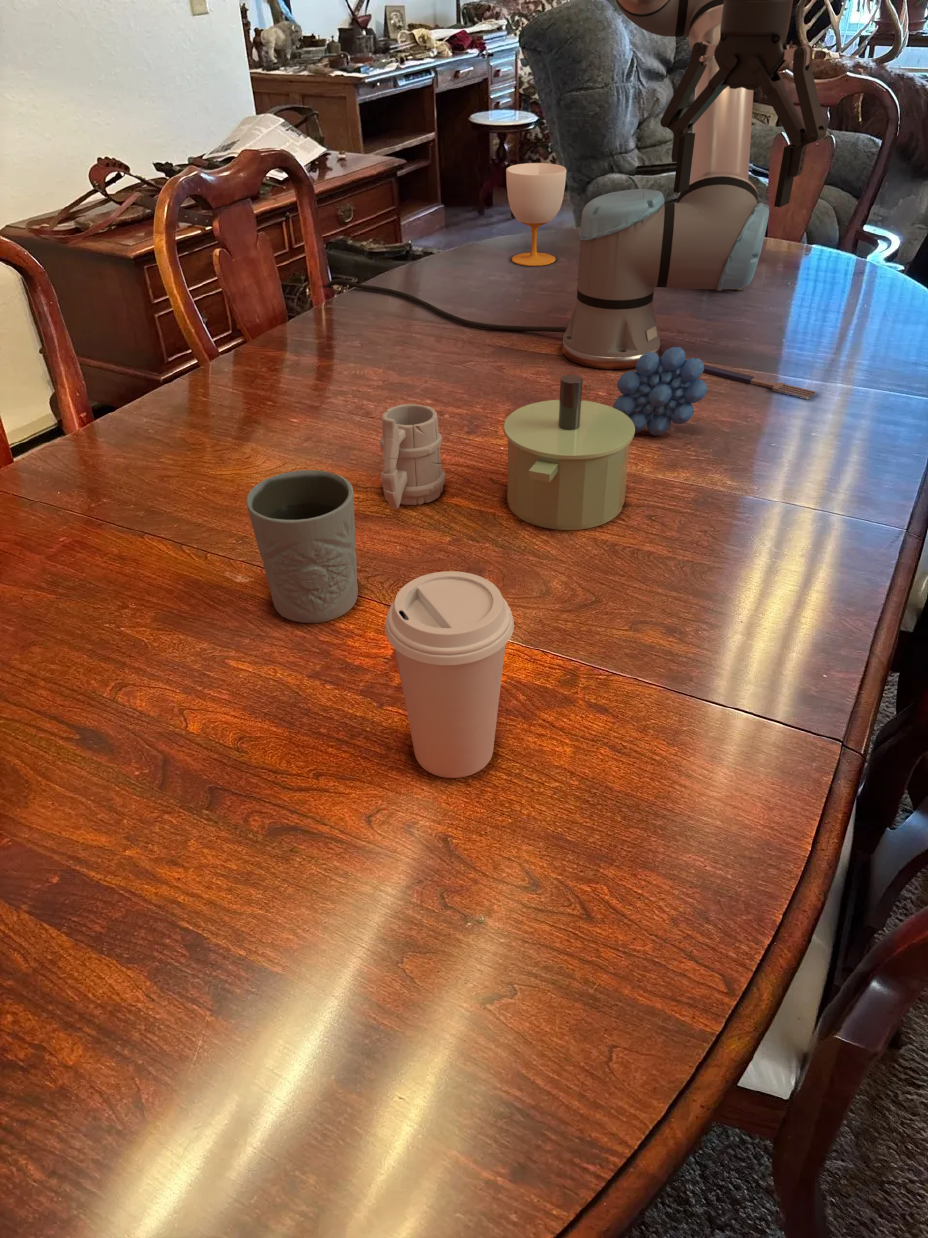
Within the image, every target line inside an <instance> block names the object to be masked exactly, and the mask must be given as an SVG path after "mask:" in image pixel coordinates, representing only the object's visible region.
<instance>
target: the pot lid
mask: <svg viewBox="0 0 928 1238" xmlns="http://www.w3.org/2000/svg"><path fill="white" fill-rule="evenodd" d="M559 381H560V383H559V399H549V400H543V401H538V402H533V403H530V404H527V405H524V406H521V407H519V408H517V409H516V410H513V411H512V412H511V413H510V414H509V415H508V416H507V417H506V418H505V420H504V423H503V433H504V436H505V438H506V439H507V441H508V440H509V441H510V442H511V443H512V444H513V445H515V446H516V447H518V448H520V449H522V450H524V451H526V452H529V453H532V454H535V455H538V456H543V457H548V458H555V459H572V460H575V459H590V458H596V457H602V456H606V455H609V454H612V453H615V452H617V451H619V450H621V449H623V448H625V447H626V446H627V445H628V444H630V445H631V442H632V441H633V440H634V438H635V434H636V433H635V426H634V423H633V421H632V420H631V419H630V418H629V417H628V416H627V415H626V414H624V413H623V412H621V411H619V410H617V409H615V408H613V406H610V405H607V404H605V403H604V404H603V403H599V402H595V401H590V400H582V396H583V383H584V382H583V381H584V379H583V377H582V376H580V375H576V374H566V375H565V374H564V375H562V376H561V377H560V379H559Z"/></svg>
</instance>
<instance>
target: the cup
mask: <svg viewBox="0 0 928 1238" xmlns="http://www.w3.org/2000/svg"><path fill="white" fill-rule="evenodd" d="M505 174H506V175H505V178H506V180H505V181H506V182H505V183H506V192H507V200H508V204H509V208H510V209H509V210H510V212H511V213H512V215H513V217H514V218H515V219H516V220H517V221H518V222H520V223H521V224H524V225H526V226H528V227H530V229H531V246H530V247H531V248H530V252H523V253H518V254H516V255H513V256H512V257H511V261H512V263H514V264H516V265H519V266H524V267H525V266H527V267H542V266H548V265H551V264H554V263H555V262H556V260H557V259H556V257H555V256H554V255H552V254H549V253H547V252H546V253H545V252H538V249H537V248H538V247H537V246H538V245H537V243H538V242H537V241H538V240H537V239H538V238H537V237H538V229H539V227H541V226H544V225H546V224H547V223H549V222H551V221H552V220H554V219H555V218H556V217H557V216H558V213H559V212H560V210H561V208H562V205H563V204H562V203H563V200H564V194H565V189H566V181H567V168H566V167H565V166H563V165H560V164H554V163H548V162H547V163H546V162H526V163H518V164H517V163H516V164H513V165H510V166H508V167H506V169H505Z"/></svg>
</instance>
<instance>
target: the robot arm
mask: <svg viewBox="0 0 928 1238" xmlns="http://www.w3.org/2000/svg"><path fill="white" fill-rule="evenodd" d="M615 3H616V5H617V7H618V9H619V10H620V11H621V12H622V14H623V15H624V16H625V17H626V19H628V20H629V21H630V22H632V23H633V24H634V25H636V26H637V27H639V28H640V29H642V30H644V31H646V32H648V33H650V34H653V35H657V36H660V37H666V38H667V37H671V38H673V37H675V38H678V37H679V38H681V37H682V38H688V46H689V49H690V50H691V53H690V59H689V63H688V65H687V67H686V69H685V71H684V73H683V75H682V77H681V79H680V81H679V83H678V85H677V87H676V89H675V90H674V93H673V94H672V97H671V98H670V101H669V103H668V105H667V106H666V108H665V110H664V112H663V114H662V116H661V118H660V121H659V123H660V126H661V128H667V129H668V130H669V131H670V132H672V135H673V138H672V147H671V162H672V163H676V166H675V173H674V183H673V193H674V194H678V195H677V198H676V202H665V201H666V200H665V197H664V194H663V192H662V191H661V190H657V189H653V188H652V189H647V188H634V189H633V188H632V189H625V190H618V191H613V192H608V193H605V194H602V195H599V196H597V197H595V198H593V199H591V200H589V202H587V203H586V205H585V206H584V208H583V209H582V213H581V222H580V231H579V233H578V239H579V240H580V241H579V255H578V271H577V284H576V285H577V287H576V301H575V305H574V308H573V310H572V314H571V316H570V318H569V322H568V324H567V326H544V325H543V326H541V325H540V326H535V325H534V326H530V325H529V326H526V325H507V324H506V325H505V324H492V323H484V322H479V321H473V320H468V319H465V318H462V317H460V316H457V315H454V314H452V313H450V312H446V311H445V310H442V309H440V308H438V307H437V306H435V305H433V304H431V303H430V302H427V301H425V300H422V299H420V298H418V297H416V296H413V295H412V294H409V293H405V292H403V291H400V290H396V289H392V288H387V287H381V286H375V285H369V284H363V283H362V284H361V283H358V282H355V281H351V280H348V279H344V278H334V279H332V280H330V281H329V282H328V283H327V284H325V287H324V288H326V289H330V288H331V287H332V286H334V285H337V284H343V285H347V286H350V287H353V288H356V289H360V290H366V291H372V292H378V293H384V294H390V295H394V296H397V297H401V298H404V299H406V300H409V301H412V302H414V303H416V304H418V305H420V306H422V307H424V308H426V309H428V310H431V311H432V312H434V313H435V314H437V315H439V316H442V317H443V318H446V319H448V320H451V321H453V322H456V323H459V324H462V325H465V326H469V327H472V328H473V327H474V328H479V329H484V330H492V331H494V330H495V331H506V332H507V331H508V332H509V331H511V332H528V333H529V332H533V333H534V332H535V333H538V332H541V333H542V332H543V333H547V332H548V333H563V334H564V335H563V337H562V353H563V355H564V357H565V358H567V359H568V360H570V361H571V362H574V363H575V364H578V365H581V366H584V367H585V366H586V367H589V368H595V369H603V370H626V369H627V370H628V369H634V368H636V363H637V361H638V360H639V358H640V356H642V355H644V354H645V353H648V352H653V353H657V355H658V356H659V355H660V350H661V338H660V334H659V329H658V324H657V319H656V315H655V310H654V305H653V304H654V303H653V302H654V295H655V288H664V289H692V290H693V289H695V290H696V289H697V290H716V291H720V292H721V291H722V290H733V289H741V290H743V289H745V288H746V287H748V286H749V285H750V284H751V283H752V281H753V279H754V276H755V273H756V271H757V268H758V263H759V260H760V256H761V253H762V249H763V245H764V241H765V236H766V231H767V228H768V227H767V226H768V221H769V216H770V206H769V205H768V204H765V203H763V202H759V195H758V194H759V192H758V189H757V188H756V186H755V184H753V183H752V181H749V172H750V156H751V140H752V123H753V104H754V91H757V90H761V91H762V93H763V94H764V96H766V97H767V99H768V101H769V103H770V105H771V107H772V109H773V110H774V113H775V114H776V117H777V118H778V120H779V122H780V124H781V126H782V128H783V130H784V132H785V133H786V136H787V138H788V140H789V141H790V143H791V144H788V145H786V146H784V147H783V151H782V158H781V163H780V169H779V176H778V180H777V186H776V192H775V198H774V203H773V207H775V208H782V207H785V206H786V205H788V204H790V201H791V195H792V191H793V190H792V189H793V184H794V180H795V179H794V178H796V177H799V176H800V175H801V174H802V172H803V171H804V165H805V159H806V153H807V148H808V147H809V145H810V144H813V143H816V142H818V141H821V140H823V139H825V138H826V136H827V129H826V124H825V121H824V115H823V112H822V107H821V104H820V103H821V102H820V100H819V95H818V89H817V86H816V82H815V78H814V73H813V69H812V66H813V53H814V48H813V46H811V45H809V44H806V45H803V46H798V47H795V48H794V47H793V48H788V46H787V37H788V33H789V28H790V21H791V16H792V10H793V3H794V0H615ZM785 62H787V64H788V68H789V69H790V70H792V78H793V82H794V86H795V91H796V95H797V99H798V103H799V107H800V111H801V115H800V114H799V112H798V109H797V108H796V106H795V103H794V102H793V100H792V98H791V96H790V94H789V93H788V91H787V88H786V83H785V81H784V78H783V77H782V75H781V73H780V71H779V70H780V69H781V68H782V66H784V64H785ZM693 94H694V101H693V102H692V103H691V104H690V106H689V107H688V108H687V109H686V110H685V108H686V107H687V106H688V103H689V102H690V99H691V98H692V95H693ZM684 111H685V112H684ZM801 116H802V118H801ZM690 131H691V132H690ZM659 357H660V356H659Z"/></svg>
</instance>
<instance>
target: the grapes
mask: <svg viewBox="0 0 928 1238" xmlns="http://www.w3.org/2000/svg"><path fill="white" fill-rule="evenodd" d="M685 360H686V361H685ZM684 361H685V362H684ZM704 364H705V363H704V362H703V361H702V359H701V358H698V357H690V358H688V359H686V352H685V350H684V349H683V348H682V347H678V346H672V347H669V348H667V349H665V351H664V352H663V353H662V356H661V357H660V356H658V355H657V353H653V352H648V353H645V354H644V355H642V356H640V358H639V360H638V361H637V363H636V367H635V370H636V371H635V370H628V371H626V372H624V373H623V374H621V375H620V377H619V378H618V380H617V386H616V387H617V390H618V391H619V392H620V393H621V395H620V396H617V398H616V400H615V401H614V403H613V406H612V407H613V408H615V409H617V410H619V411H621V412H623V413H624V414H626V415H627V416H628V417H629V418H630V419H631V420H632V421H633V423H634V426H635V434H637V433H640V432H642V431H644V430H645V429H647V431H648V433H649V434H650V435H651V436H656V437H659V436H662V435H664V434H665V433H667V432H668V431H669V429H670V427H671V425H672V423H673V424H676V425H683V424H686V423H687V422H689V421H690V420H691V419H692V417H693V415H694V413H695V408H694V405H693V404H696V403H698V402H700V401H701V400H703V399H704V398H705V396H706V394H707V392H708V385H707V383H706V382H705V381H704V380H703V379H700V377H701V376H702V374H703V373H704V372H703V371H704Z"/></svg>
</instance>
